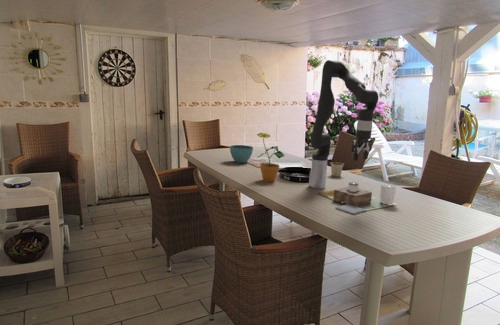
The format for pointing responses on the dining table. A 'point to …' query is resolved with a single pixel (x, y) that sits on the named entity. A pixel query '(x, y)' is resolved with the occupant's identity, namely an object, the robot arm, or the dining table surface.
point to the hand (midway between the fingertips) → (360, 159)
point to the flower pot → (336, 168)
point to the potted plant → (269, 169)
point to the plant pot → (241, 153)
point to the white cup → (387, 193)
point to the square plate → (288, 163)
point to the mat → (350, 209)
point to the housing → (352, 196)
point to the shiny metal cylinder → (353, 187)
